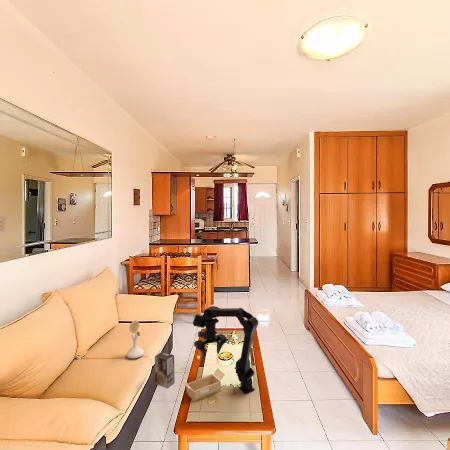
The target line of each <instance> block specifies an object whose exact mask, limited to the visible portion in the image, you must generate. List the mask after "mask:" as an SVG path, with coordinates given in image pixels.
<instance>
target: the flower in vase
mask: <svg viewBox="0 0 450 450" xmlns="http://www.w3.org/2000/svg"><path fill="white" fill-rule="evenodd" d="M128 328H129V332H131V333H133V334H131V336H130V338H131V339H132V341H133V344H132V347H131V348H130V349H128V351H127V352H126V354H125V355H126V357H127V358H129V359H137V358H138V359H139V358H140V357H142V356H144V354H145V350H144V349H143V348H141V347H139V346H138V338H139V336H141V334H140V331H139V328H140V322H139V321H138V320H137V319H136V320H132V322H130V324H129V327H128Z"/></svg>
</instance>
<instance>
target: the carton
mask: <svg viewBox="0 0 450 450" xmlns="http://www.w3.org/2000/svg"><path fill="white" fill-rule="evenodd" d="M186 383H187V384H188V385H189V386H190V387H191V388H192V389H193V390H191V389H189V388H187V387H186V394H187V393H188V394H187V396H188V397H189V398H190V399H191V400H192V402H197V401H199V400H201V399H204V398H206V397H208V396H210V395H213V394H215V393H219V392H220V391H221V390H222V389H221V387H222V385H221V380H219V379H218V378H217V377H216V376H215V375H214V374H209V375H206V376H203V377H200V378H198V379H195V380H193V381H190V382H186Z"/></svg>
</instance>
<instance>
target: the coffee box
mask: <svg viewBox="0 0 450 450" xmlns="http://www.w3.org/2000/svg"><path fill="white" fill-rule="evenodd" d="M154 373H155V374H154V375H155V377H154V378H155V385H157V386H160V387H161V388H165V389H169V388H170V387H171V386H173V385H174V384H175V383H176V382H175V379H176V378H175V355H174V354H172V353H168V352H165V351H161V352H159V353H158V354H156V355H155V356H154Z"/></svg>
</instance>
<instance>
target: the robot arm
mask: <svg viewBox="0 0 450 450" xmlns="http://www.w3.org/2000/svg"><path fill="white" fill-rule="evenodd" d="M219 317H223V318H226V317H227V318H232V317H233V318H236V319H237V320H238V322H239V324H240V325H241V326H242V327H243V328H242V331H243V333H244V336H243V343H242V346H241V347H242V348H241V355H240V357H239V359H238V360H237V361H236V362H235V367H234V370H235V374H236V376H237V379H238V381H239V383H240V386H238V390H239V391H241V392H242V393H243V394H244V395H247V394H249V393H251V392H255V390H256V389H255V388H254V387H253V378H252V377H253V376H255V371H254V369H253V368H252V367H251V360H250V356H251V350H252V344H253V339H254V334H255V332H256V331H257V328H258V326H259V320H258V318H257V317H256V316H254V315H252V314H251V313H249V312H248V311H246V310H245V309H244V308H242V307H236V308H234V307H233V308H231V307H230V308H226V307H225V308H221V307H218V306H215V305H210V306H209V307H207V308H205V309H204V310H203V314H202V315H201V314H197V313H196V314H195V315H194V319H193V321H192V325H193V327H197V328H203V329H204V328H205V330H204V331H202V330H199V331H198V332H197V337H198V338H201V339H203V340H204V341H203V340H201V339H198V340H195V341H194V342H193V346H194V347H195V348H196V349H197V350H198V351H200V353H201V356H202V358H203V359H206V348H205V347H206V345H208V344H209V345H210V344H212V343H215V342H216V354H217V355H219V353H220V352H221V350H222V347H223V346H224V344H226V342H227V341H228V338H227V336H226V335H224V334H222V333H220V334H219V333H218V331H217V330H216V329H217V328H216V324H218V323H219V322H220V320H219V319H217V318H219ZM216 334H217V335H216Z"/></svg>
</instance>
